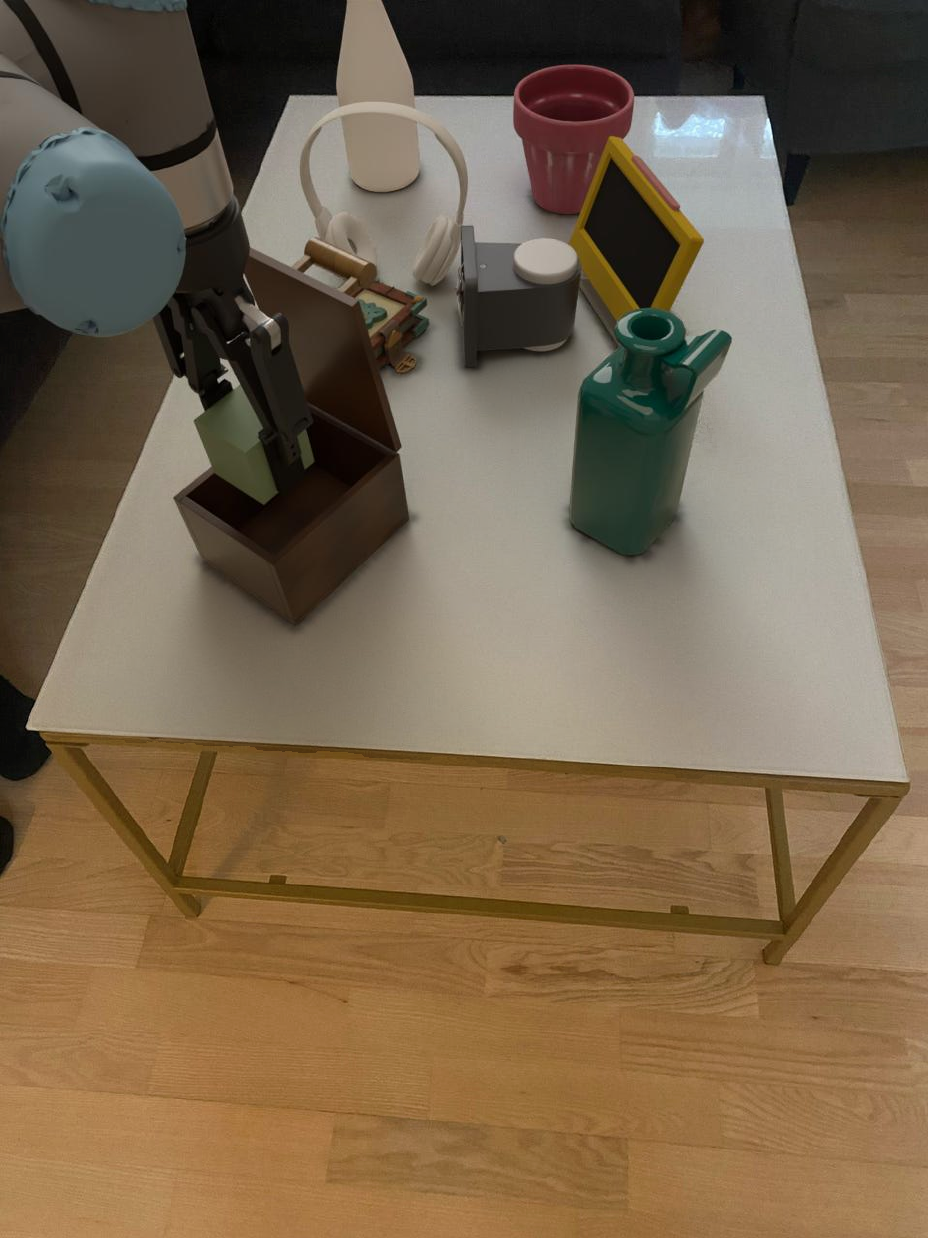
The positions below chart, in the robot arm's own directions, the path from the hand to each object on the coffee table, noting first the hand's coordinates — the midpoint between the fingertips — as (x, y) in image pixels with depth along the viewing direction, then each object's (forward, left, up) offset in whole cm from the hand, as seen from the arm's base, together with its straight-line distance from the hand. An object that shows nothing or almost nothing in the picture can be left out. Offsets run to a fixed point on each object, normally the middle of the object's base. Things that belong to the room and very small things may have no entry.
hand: (263, 465), depth 75 cm
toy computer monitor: (+45, +18, -12) cm, 50 cm away
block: (0, 0, 0) cm, 0 cm away
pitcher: (+31, -9, -12) cm, 34 cm away
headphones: (+23, +36, -12) cm, 44 cm away
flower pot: (+49, +43, -12) cm, 66 cm away
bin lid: (+7, +4, +6) cm, 10 cm away
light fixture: (+32, +20, -12) cm, 39 cm away
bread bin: (+2, +1, -12) cm, 12 cm away
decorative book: (+14, +24, -12) cm, 30 cm away
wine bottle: (+29, +58, -12) cm, 66 cm away
